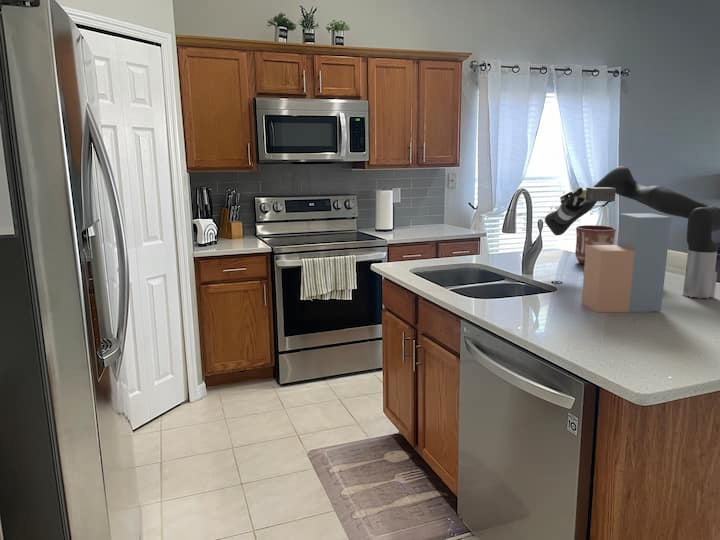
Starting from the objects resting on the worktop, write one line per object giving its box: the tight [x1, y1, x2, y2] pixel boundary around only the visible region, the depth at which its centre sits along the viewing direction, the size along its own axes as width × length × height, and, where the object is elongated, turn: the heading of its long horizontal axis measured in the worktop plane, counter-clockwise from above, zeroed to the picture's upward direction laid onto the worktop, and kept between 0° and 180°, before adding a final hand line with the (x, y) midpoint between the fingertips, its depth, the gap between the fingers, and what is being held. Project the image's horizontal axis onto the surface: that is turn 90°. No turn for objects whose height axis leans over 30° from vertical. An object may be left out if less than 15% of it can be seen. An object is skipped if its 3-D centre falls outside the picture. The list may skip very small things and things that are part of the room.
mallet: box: [578, 186, 616, 202], centre depth 205 cm, size 21×8×4 cm, turn 0°
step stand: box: [581, 212, 672, 313], centre depth 188 cm, size 22×12×32 cm, turn 91°
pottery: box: [575, 224, 617, 266], centre depth 264 cm, size 18×18×18 cm
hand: (586, 189), depth 210 cm, fingers closed on mallet, 3 cm apart
